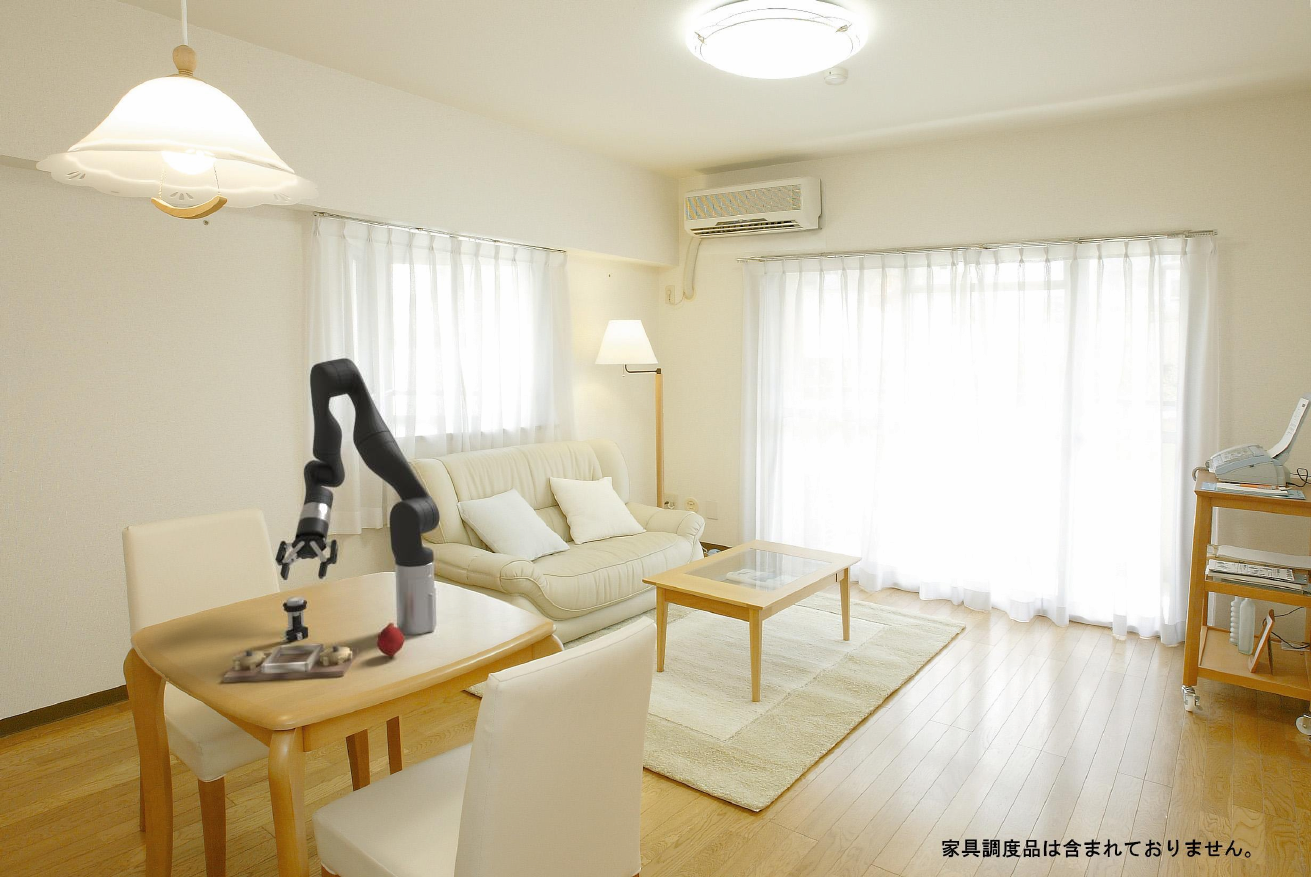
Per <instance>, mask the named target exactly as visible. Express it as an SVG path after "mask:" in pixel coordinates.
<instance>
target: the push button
mask: <svg viewBox="0 0 1311 877" xmlns="http://www.w3.org/2000/svg"><path fill="white" fill-rule="evenodd" d="M307 604H308V601H307V600H305V599H304V598H303V597H301V596H294V597H290V598H287V599H286V601H285V602H284V603H282V607H283V611H284V612H286V613H287V626H288V627H287V630H286V629H285V631H284V636H282V637H280V639H281V640H280V643H285V642H287V643H290V644H291V643H293V642H296V641H297V642H298V641H301V640H304V639H308V638H309V627H307V626H305V625H306V624H305V623H304V622H305V621H304V620H305V619H304V610H306V609H307ZM282 639H284V640H282Z"/></svg>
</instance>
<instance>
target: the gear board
mask: <svg viewBox="0 0 1311 877" xmlns="http://www.w3.org/2000/svg"><path fill="white" fill-rule="evenodd" d="M357 655H358V648H349V647H347V646H340V645H334V646H332V647H329V648H326V649H324V643H308V644H307V643H306V644H289V645H288V644H287V645H285V644H284V645H277V647H276V648H275V649H274V650H273V651H272V652H264V651H262V650H252V649H248V650H245V651H243V652H241V653H238V654H237V655H235V656H234V657H232V667H231V669H229V671H228V672H226V673H225V675H224V676H223V677H222V678H223V683H226V684H227V683H239V682H240V683H242V682H243V683H244V682H258V681H259V682H260V681H278V680H296V679H299V680H300V679H312V678H313V679H315V678H333V677H336V678H337V677H344V676H345V675H346V673H347V671H348V670H349V668H350V667H351V664H352V663H353V662H354V660H355V659H356V656H357Z"/></svg>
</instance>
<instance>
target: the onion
mask: <svg viewBox="0 0 1311 877" xmlns="http://www.w3.org/2000/svg"><path fill="white" fill-rule="evenodd" d="M404 643H405V636H404V634H402V632H401V631H400V630H399V629H398V628H397V626H395V625H394V622H393V621H391V622H389V623H388V624H386V626H385V627H384V628H383V629H381V631H380V632H379V634H378V635H377V639H376V646H377V648H378V650H379V652H381V653H382V654H383V655H385V656H388V657H389V658H390V657H394V656H395V655H396V654H397V653H398V652H399V651H401V650H402V648H403V646H404Z"/></svg>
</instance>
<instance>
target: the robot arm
mask: <svg viewBox="0 0 1311 877" xmlns="http://www.w3.org/2000/svg"><path fill="white" fill-rule="evenodd" d="M309 386H310V395H311V396H310V397H311V406H312V414H313V427H314V430H313V441H312V442H313V444H312V456H313V457H314V458H315V459H312V460H310V461H308V462H307V463H305V465H304V468H303V479H304V485H305V494H304V495H305V496H304V500H303V501H304V502H303V505H302V509H301V512H300V514H299V519H298V524H297V527H296V531H295V532H296V533H295V537H294V540H293V541H292V542H286V540H281V541H280V543H279V545H278V546H279V547H278V549H277V553H276V555H275V556H276V557H275V562H276V564H277V565H278V566H280V567H281V569H280V573H279V574H280V576H281V578H282V579H283V580H284V581H287V580H288V578H289V573H290V570H291V569H290V568H291V566H292V565H293V564H294V563H297V562H298V561H299V560H300V559H301V560H306V559H309V560H310V559H311V560H313V559H315V558H317V559H318V560H319V562H320V563H319V567H318V568H319V569H318V572H317V573H318V574H317V575H318V579H319V580H322V579H324V577H326V576H327V573H328V567H329V566H330V565H336V564H337V562H338V554H339V553H338V551H339V544H338V541H337V540H336V539H332V540H331V541H327V538H328V534H329V533H328V532H329V528H330V525H331V514H332V513H331V512H332V507H333V503H334V502H333V501H334V493H333V491H331V490H330V489H329V488H332V489H333V488H338V487H340V486H341V485H342V484H343V483H344V482H345V478H346V472H345V471H346V470H345V466H344V464H343V460H342V454H341V453H342V450H341V449H342V441H343V432H342V428H341V425H340V423H339V421H338V420H337V419H336V418H335V416H334V415H333V413H332V411H331V410H330V400H331V398H336V397H339V396H344V395H348V397H349V398H350V401H351V402H352V405H353V408H354V413H355V414H354V415H355V416H354V422H353V423H354V425H353V432H352V438H353V444H354V447H355V449H356V450H357V452H358V454H359V457H360V458H361V459H362V461H363V463H364V464H365V466H366V467H367V468H368V469H369V470H370V471H372V473H374V474H375V475H376V476H378V477H379V478H380V479H382V480H383V482H386V483H387V484H388V485H389V486H390V487H392V488H393V490H394V491H395V492H396V494H398V496H399V498H400V500H401V501H398V502H397V503H394V505H393V506H392V508H391V510H390V513H389V532H390V533H389V534H390V536H389V537H390V546H391V552H392V554H393V557H394V563H395V564H394V566H395V602H396V605H395V606H396V608H395V609H396V628H398V629H399V630H400V631H401V632H402V634H403V635H409V636H410V635H420V634H421V635H422V634H427V633H430V632H434V631H435V628H436V626H437V593H436V592H437V588H436V587H435V560H434V558H435V557H434V555H435V554H434V550H433V549H431V548H430V547H427V546H423V542H422V540H423V539H422V535H423V534H426V533H429V532H432V531H434V530H435V529H436V528H437V527H438V525H439V524H440V517H441V516H440V511H439V509H438V508H439V507H438V506H437V503H436V502H435V500H434V499H433V497H432V496H431V495H430V494H429V492H428V490H427V488H425V486H424V485H423V484H422V483H421V481H420V480H419V478H418V476H417V475H416V473H415V472H414V470H413V469H412V467H411V466H410V464H409V462H408V460H407V458H406V457H405V456H404V454H403V452H402V451H401V448H400V447H399V444H398V442H397V441H396V439H395V437H394V436H393V434H392V432H391V430H390V428H389V427H388V426H387V424H386V423H385V421H384V419H383V417H382V415H381V414H380V412H379V409H378V408H377V406H376V404H375V402H374V400H373V398H372V396H371V394H370V391H369V389H368V387H367V385H366V383H365V380H364V378H363V376H362V374H361V371H360V370H359V369H358V366H357V365H356V364H355V362H354V361H353V360H351V359H349V358H347V357H344V358H337V359H331V360H327V361H322V362H319V363H316V364H314V365H313V366H312V368H311V369H310V375H309ZM327 548H328V549H329V552H330V553H329V556H328V557H326V556H325V554H324V551H325V550H326V549H327ZM290 549H292V550H290ZM289 551H290V552H289ZM287 552H288V554H287ZM286 554H287V556H286Z"/></svg>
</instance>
